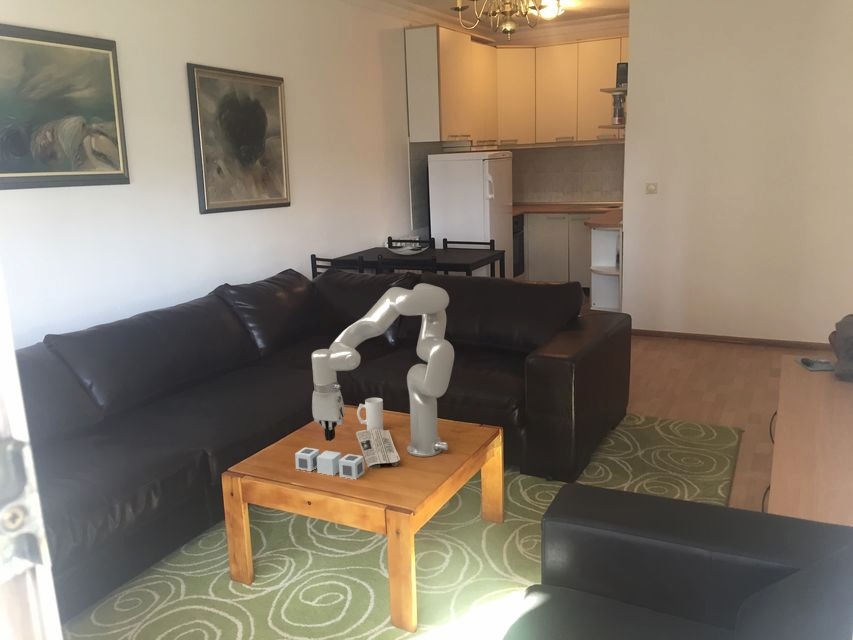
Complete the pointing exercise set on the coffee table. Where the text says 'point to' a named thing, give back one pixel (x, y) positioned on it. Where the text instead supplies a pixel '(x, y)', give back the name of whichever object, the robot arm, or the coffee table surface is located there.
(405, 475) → the coffee table surface
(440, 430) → the coffee table surface
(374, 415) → the mug
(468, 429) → the coffee table surface
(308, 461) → the marked block far
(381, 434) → the newspaper
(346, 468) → the marked block near
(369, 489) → the coffee table surface
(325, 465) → the plain block
